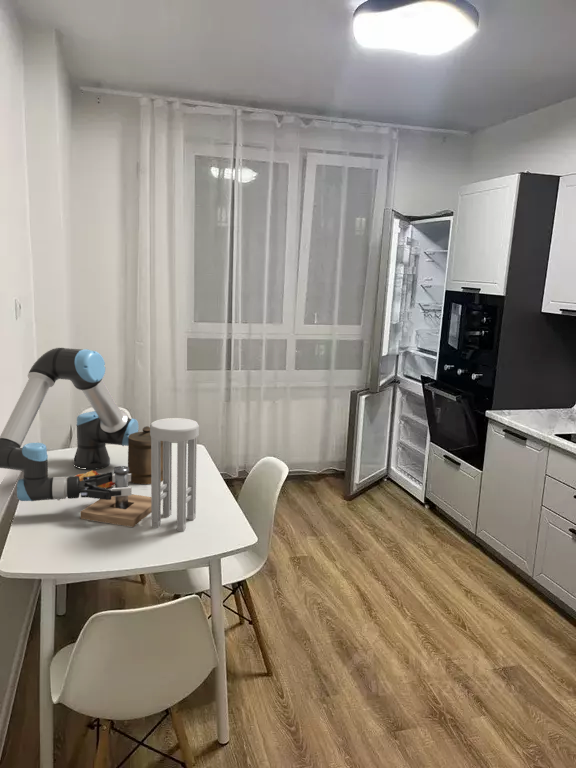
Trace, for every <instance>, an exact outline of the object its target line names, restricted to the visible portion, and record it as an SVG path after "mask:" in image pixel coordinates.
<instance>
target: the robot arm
mask: <svg viewBox="0 0 576 768" xmlns="http://www.w3.org/2000/svg"><path fill="white" fill-rule="evenodd" d="M105 365H106V362H105V360H104V357H103V356H102V355H101V353H100V352H98V351H96V350H91V349H87V348H86V349H83V348H81V349H80V348H66V347H55V348H51V349H49V350H47V351H46V352H44V354H42V355H41V356H40V357H39V358H38V359H37V360H36V361H35V362H34V363H33V365H32V366H31V367H30V370H29V371H28V373H27V377H28V380H27V382H26V384H25V385H24V388H23V390H22V392H21V393H20V396H19V398H18V399H17V401H16V404H15V406H14V408H13V410H12V412H11V414H10V415H9V418H8V420H7V422H6V424H5V426H4V428H3V430H2V431H1V432H2V433H1V434H0V469H7V470H15V471H20V472H23V473H22V474H23V478H19V479H18V480H17V484H16V496H17V499H18V501H20V502H37V501H38V502H39V501H49V500H57V501H60V500H65V499H68V500H69V499H73V500H74V499H79V498H88V499H89V498H90V499H97V500H99V499H105V500H111V496H112V497H114V496H130V495H132V493H133V492H132V486H128V487H125V488H115V487H113V488H112V487H111V489H110V488H102V487H98V486H99V485H102V484H105V483H108V482H111V481H112V482H115V473H113V472H112V471H109V472H105V473H98V474H99V475H94V476H88V477H83V481H80V478H79V476H76V475H72V476H71V475H70V476H68V477H67V476H52V477H49V473H48V471H49V470H48V469H49V468H48V467H49V465H48V459H49V457H48V456H49V455H48V453H47V452H48V451H47V450H48V449H47V446H46V444H45V443H43V442H29V443H26V444H24V445H23V443H24V441H25V439H26V437H27V434H28V433H29V431H30V428H31V426H32V424H33V423H34V420H35V418H36V416H37V414H38V413H39V410H40V408H41V405H42V403H43V401H44V399H45V397H46V395H47V393H48V391H49V389H50V388H52V387H54V386H55V383H56V381H58V380H67V381H70V382H71V384H73V386H74V387H75V388H76V389H77V390H79V391H82V393H83V394H84V395H85V397H86V398H87V400H88V402H89V404H90V406H91V407H92V409H93V411H87V412H83V413H81V414H78V415H77V416H76V424H75V425H76V440H77V441H76V445H77V448H76V451H75V454H74V458H73V461H72V462H73V464H74V465H75V466H77V467H80V468H86V469H93V470H97V469H96V468H100V469H103V468H102V467H104V468H106V467H108V466H109V465H110V464H111V456H110V455H109V452H108V449H107V447H106V446H107V445H106V444H110V445H115V446H122V447H124V446H125V447H128V437H129V435H130V434H133V433H136V432H139V421H138V420H137V419H136V418H130V417H129V415H128V414H127V413H126V412H125V411H124V410H122V409H120V407H119V406H118V404H117V402H116V401H115V399H114V397H113V395H112V394H111V392H110V390H109V388H108V387H107V385H106V383H105V381H104V376H105V374H106V366H105ZM22 445H23V446H22ZM74 465H73V466H74ZM130 481H131V474H128V483H129V482H130ZM130 483H131V482H130Z"/></svg>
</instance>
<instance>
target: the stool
mask: <svg viewBox="0 0 576 768" xmlns="http://www.w3.org/2000/svg"><path fill="white" fill-rule="evenodd" d="M149 427H150V435H151V484H150V485H151V488H150V489H151V494H150V497H151V513H150V514H151V516H150V518H151V528H155V529H157V528H158V529H159V527H160V526H162V525H161V524H162V523H161V520H162V519H161V518H162V517H167V518H169V516H170V515H172V507H173V506H172V503H173V502H172V494H173V493H172V490H173V489H172V487H173V486H172V481H173V480H172V479H173V478H172V477H173V476H172V475H173V473H172V471H173V468H172V467H173V465H172V464H173V461H172V460H173V459H172V458H173V455H172V453H173V451H172V450H173V448H172V447H173V442H177V443H176V444H177V447H176V450H177V451H176V452H177V454H176V455H177V456H176V460H177V461H176V462H177V463H176V465H177V466H176V468H177V469H176V472H177V474H176V475H177V476H176V477H177V478H176V531H177V532H178V531H179V532H184V531H185V530H186V529H187V520H188V519H190V521H194V520H195V519H196V516H197V515H196V513H197V510H196V509H197V455H198V454H197V449H198V448H197V443H198V441H197V440H198V437H199V436H200V425H199V424H198V422H197V421H196V420H193V419H189V418H182V417H181V418H180V417H172V418H170V417H169V418H168V417H167V418H161V419H157V420H154V421H153V422H151V423H150V424H149ZM161 441H163V480H162V481H161ZM161 482H162V483H161ZM161 484H162V485H161ZM161 505H162V507H161ZM161 508H162V511H161ZM161 515H162V516H161ZM170 517H171V516H170Z"/></svg>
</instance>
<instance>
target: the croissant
mask: <svg viewBox="0 0 576 768" xmlns="http://www.w3.org/2000/svg"><path fill="white" fill-rule="evenodd" d="M99 474H100V473H98V472H97V470H88V471H86V473H79V474H76V475H75V476H79V478H80V481H83V477H88V476H94V475H99ZM113 486H115V482H112V481H111V482H108V483H105V484H102V485H99V486H98V487H102V488H106V489H109V488H112V487H113Z"/></svg>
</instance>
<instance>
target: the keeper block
mask: <svg viewBox="0 0 576 768" xmlns="http://www.w3.org/2000/svg"><path fill="white" fill-rule="evenodd" d="M79 513H80V514H79V515H80V518H81V519H80V520H86V519H88V520H87V521H92V520H94V522H100V523H106V524H113V525H118V526H123V527H131V528H134V527H135V526H136V525H138V524H139V523H140V522H141V521H143V520H144V519H146V517H148V516H149V515H150V514H151V496H147V495H140V494H132V495H130V496H128V508H127V509H119V508H115V496H114V497H112V496H111V500H105V499H97V500H96V501H94V502H93V503H92V504H90V505H88V506H86V507H85V508H84V509H82V510H80V511H79Z"/></svg>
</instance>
